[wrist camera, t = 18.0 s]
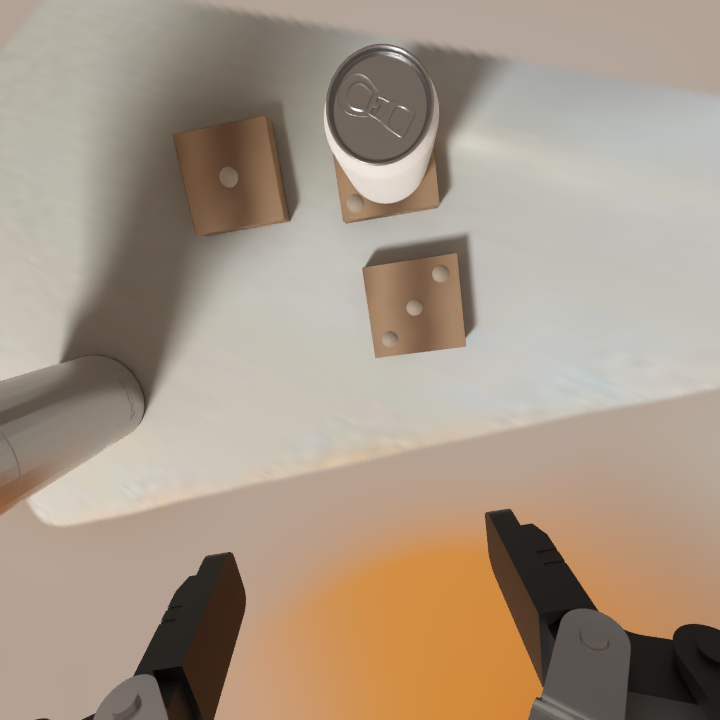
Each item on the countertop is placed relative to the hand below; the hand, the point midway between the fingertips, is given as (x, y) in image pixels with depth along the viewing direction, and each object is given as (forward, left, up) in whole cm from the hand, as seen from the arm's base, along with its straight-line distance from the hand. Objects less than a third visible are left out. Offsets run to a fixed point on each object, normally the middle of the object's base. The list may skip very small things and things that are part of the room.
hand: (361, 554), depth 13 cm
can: (+2, +17, -25) cm, 30 cm away
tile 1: (-11, +18, -27) cm, 34 cm away
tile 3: (+3, +5, -27) cm, 27 cm away
